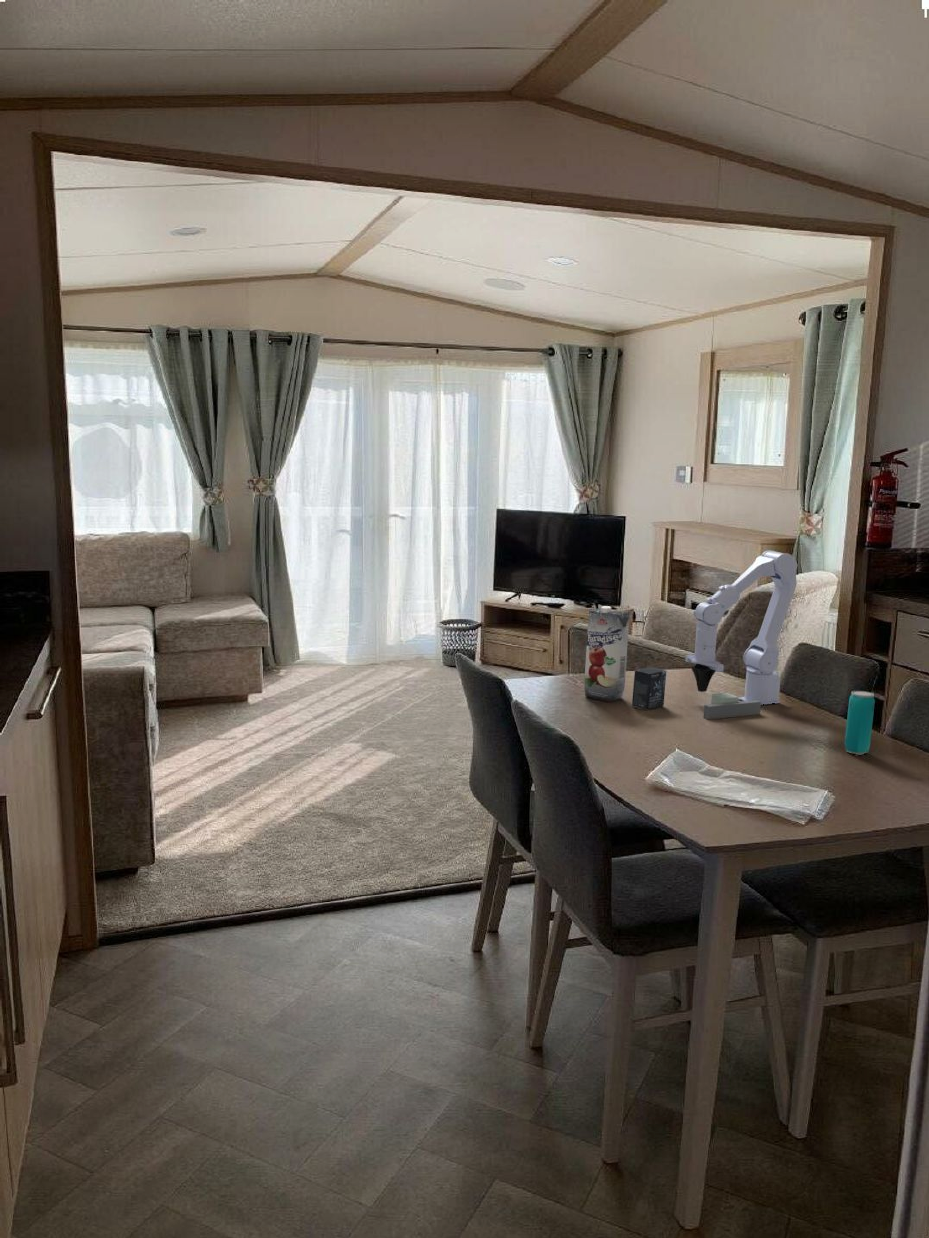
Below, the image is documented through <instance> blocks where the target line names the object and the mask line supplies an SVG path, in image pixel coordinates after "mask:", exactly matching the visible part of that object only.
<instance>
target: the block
mask: <svg viewBox="0 0 929 1238" xmlns="http://www.w3.org/2000/svg"><path fill="white" fill-rule="evenodd" d="M738 697H739V696H737V695H733V694H731V693H728V692H721V693H717V692H716V693H712V694H711V703H710V704H719V703H730V702H739V699H738Z"/></svg>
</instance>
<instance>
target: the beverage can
mask: <svg viewBox="0 0 929 1238" xmlns="http://www.w3.org/2000/svg"><path fill="white" fill-rule="evenodd" d="M875 702H876V700H875V694H874V693H873V692H869V691H865V690H853V691H851V694H850V696H849V700H848V706H847V707H848V710H847V718H846V727H845V737H844V747H845V751H846V752H849V753H856V754H864V753H867V754H868V752H869V750H870V748H871V739H872V731H873V730H872V728H873V722H874V710H875ZM849 753H848V754H849Z"/></svg>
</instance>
